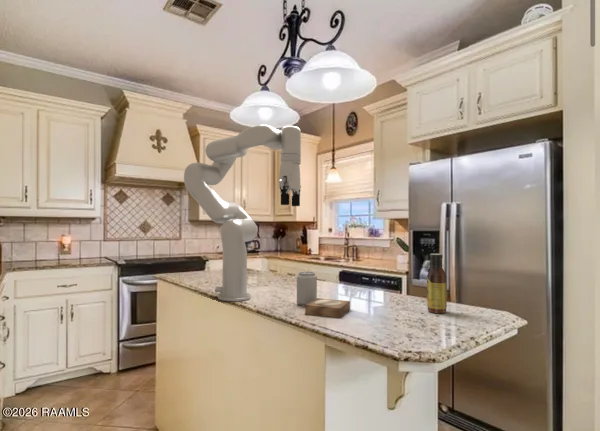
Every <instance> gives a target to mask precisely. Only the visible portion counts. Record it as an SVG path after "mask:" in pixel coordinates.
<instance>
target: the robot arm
mask: <svg viewBox="0 0 600 431" xmlns="http://www.w3.org/2000/svg"><path fill="white" fill-rule="evenodd" d="M301 132H302V131H301V129H300V128H299V127H298V126H295V125H287V126H283V127H282V128H281V129H277V128H275V127H273V126H271V125H268V124H260V125H255V126H250V127H247V128H245V129H243V130H242V131H241V132H239V134H237V135H234V136H231V137H230V136H229V137H226V138H225V137H224V138H221V139H217V140H213V141H211V142H209V143H208V144H207V145H206V146H205V155H206V156H207V158H208V159H209V160H210V161H213V162H212V164H206V163H203V162H192V163H190V164H188V165H187V166H186V167H185V170H184V172H183V184H184V187H185V189H186V191H187V192H188V193H189V195H190V196H191V197H192V198H193V199H194V200H195V201H196V203H197V204H198V205H199V207H201V209H202V210H203V211H204V212H205V214H206V216H208V217H209V218H210V219H211V221H213V222H214V223H215V224H221V227H220V239H221V246H222V279H221V280H222V286H216V287H215V289H214V292H215V293H219V295H217V297H218V298H217V299H218V300H219V301H223V302H242V301H247V300H249V299H251V297H252V296H251V294H250V293H247V292H248V290H247V288H248V287H247V286H248V275H247V274H248V250H247V246H246V243H247V242H252V241H253V240H254V239H256V237H257V235H258V226H257V223H256V222H255V221H254V220H253V218H252V217H250V215H249V214H248V213H247V211H245V210H244V208H243V207H242V206H241V205H240V204H238V203H237V202H234V201H230V200H225V199H223V198H222V197H221V196H220V195H219V194H218V193H217V191H216V190H215V189H213V187H211V186H216V185H218V184H220V183H221V182H222V180H224V178H225V176H226V175H227V174H228V172H229V171H230V170H231V168H232V166H233V165H234V164H235V161H236V160H237V158H242V157H245V156H246V155H247V153H248V149H250V148H251V149H252V148H254V147H259V146H264V147H267V148H269V149H271V150H280V165H279V173H278V175H279V176H278V188H279V189H280V191H279V193H280V205H281V206H289V205H290V193H289V192H290V191H291V194H292V195H291V207H300V206H301V204H300V202H301V192H302V191H301V188H302V185H301V170H300V168H301V166H300V165H301V163H302V162H301V160H302V159H301V154H302V152H301V150H302V149H301V148H302V147H301V145H302V144H301V142H302V140H301V139H302V137H301V136H302V134H301Z"/></svg>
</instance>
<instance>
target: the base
mask: <svg viewBox="0 0 600 431" xmlns="http://www.w3.org/2000/svg"><path fill="white" fill-rule="evenodd" d="M350 310H351V301H350V300H344V299H342V300H341V299H329V298H320V297H319V298H317V299H315V300H313V301H311V302H310V303H308V304H306V305H305V306H304V315H311V316H319V317H331V318H342V317H343V316H345V314H346V313H348V312H349V311H350Z"/></svg>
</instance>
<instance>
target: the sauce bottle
mask: <svg viewBox="0 0 600 431" xmlns="http://www.w3.org/2000/svg"><path fill="white" fill-rule="evenodd" d="M429 259H430V266H429V267H430V268H429V270H428V273H427V275H426V297H427V298H426V307H427V310H428V312H429V313H432V314H446V313H447V306H448V304H447V303H448V302H447V276H446V275H447V274H446V272H445V270H444V269H443V253H430V254H429Z"/></svg>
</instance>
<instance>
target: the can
mask: <svg viewBox="0 0 600 431" xmlns="http://www.w3.org/2000/svg"><path fill="white" fill-rule="evenodd" d="M317 278H318V277H317V275H316V272H315V271H309V270H308V271H307V270H305V271H303V270H302V271H298V274H297V275H296V303H297V304H298V305H299V306H302V307H305V305H306V304H308V303H310V302H311V301H313V300H315V299H317V296H318V295H317V293H318V288H317V286H318V283H317V282H318V279H317Z"/></svg>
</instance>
